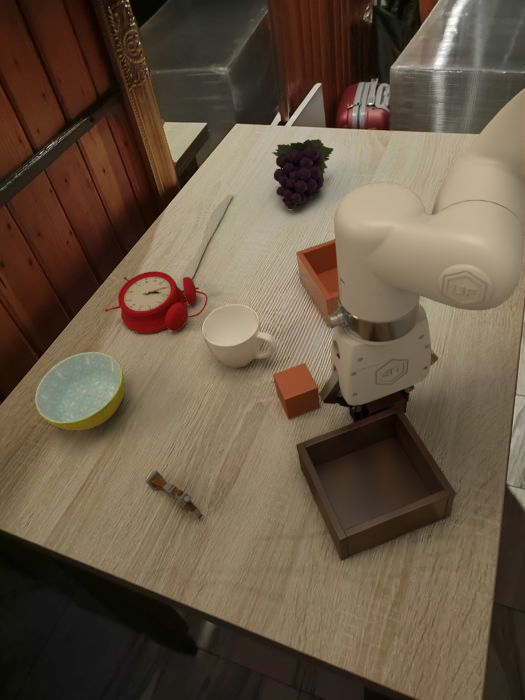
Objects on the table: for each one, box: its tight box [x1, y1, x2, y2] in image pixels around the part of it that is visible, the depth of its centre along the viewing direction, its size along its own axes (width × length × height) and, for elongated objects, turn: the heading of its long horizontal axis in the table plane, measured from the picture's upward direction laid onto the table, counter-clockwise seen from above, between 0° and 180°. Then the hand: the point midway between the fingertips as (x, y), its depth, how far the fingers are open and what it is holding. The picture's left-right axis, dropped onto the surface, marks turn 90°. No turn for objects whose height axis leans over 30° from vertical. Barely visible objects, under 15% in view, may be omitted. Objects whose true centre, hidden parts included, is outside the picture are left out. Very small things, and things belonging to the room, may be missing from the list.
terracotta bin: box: [295, 238, 340, 328], centre depth 80 cm, size 13×12×6 cm
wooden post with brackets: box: [145, 469, 204, 520], centre depth 62 cm, size 2×8×4 cm, turn 51°
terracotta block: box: [272, 362, 321, 420], centre depth 68 cm, size 4×4×4 cm
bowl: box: [34, 351, 125, 431], centre depth 71 cm, size 11×12×6 cm
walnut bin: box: [295, 406, 457, 561], centre depth 58 cm, size 13×12×6 cm
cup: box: [201, 303, 277, 369], centre depth 73 cm, size 8×10×7 cm
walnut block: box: [364, 391, 405, 417], centre depth 65 cm, size 4×4×4 cm
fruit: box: [271, 138, 334, 211], centre depth 97 cm, size 10×11×15 cm
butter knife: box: [176, 194, 233, 292], centre depth 95 cm, size 1×27×3 cm
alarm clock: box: [104, 270, 209, 334], centre depth 83 cm, size 10×6×15 cm
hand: (378, 411), depth 66 cm, fingers closed on walnut block, 4 cm apart
